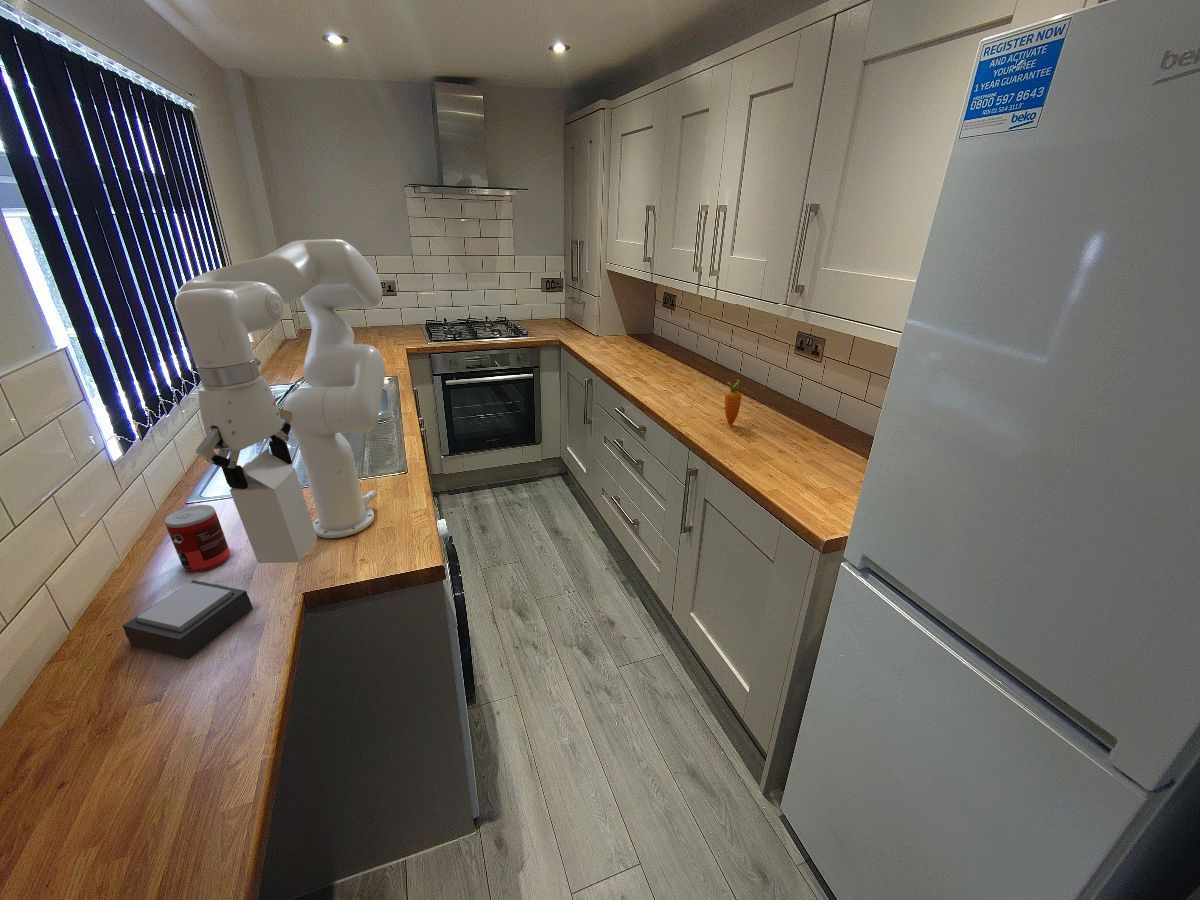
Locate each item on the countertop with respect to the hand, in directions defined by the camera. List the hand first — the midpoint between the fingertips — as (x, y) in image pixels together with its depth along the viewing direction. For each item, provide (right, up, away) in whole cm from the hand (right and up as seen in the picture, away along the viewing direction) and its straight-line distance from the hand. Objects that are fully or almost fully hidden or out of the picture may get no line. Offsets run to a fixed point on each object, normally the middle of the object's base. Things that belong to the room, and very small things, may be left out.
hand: (262, 474), depth 87 cm
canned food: (-23, -19, +18) cm, 35 cm away
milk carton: (0, -14, +7) cm, 16 cm away
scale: (-12, -26, +1) cm, 28 cm away
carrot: (+99, +12, +83) cm, 129 cm away
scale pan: (-12, -23, 0) cm, 26 cm away
